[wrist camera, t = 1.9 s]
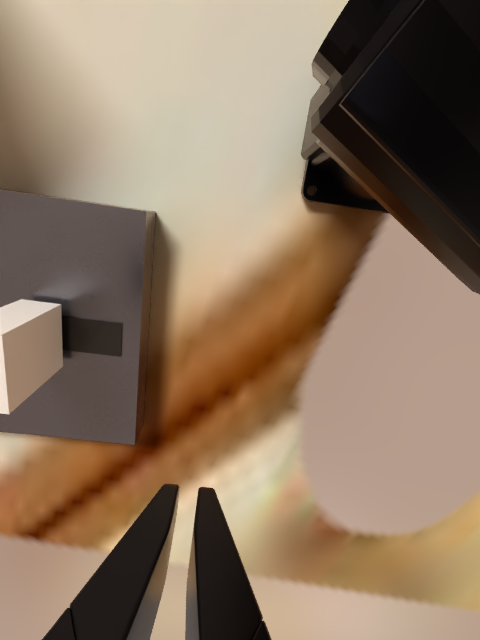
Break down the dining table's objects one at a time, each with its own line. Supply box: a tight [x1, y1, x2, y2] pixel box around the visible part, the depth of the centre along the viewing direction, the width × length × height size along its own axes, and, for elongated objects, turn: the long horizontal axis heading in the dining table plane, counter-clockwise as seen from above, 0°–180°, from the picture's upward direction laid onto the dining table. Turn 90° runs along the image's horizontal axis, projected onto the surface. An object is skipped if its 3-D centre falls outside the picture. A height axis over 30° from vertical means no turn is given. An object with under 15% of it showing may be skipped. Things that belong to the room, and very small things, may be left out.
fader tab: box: [0, 299, 63, 414], centre depth 15 cm, size 2×4×5 cm, turn 172°
